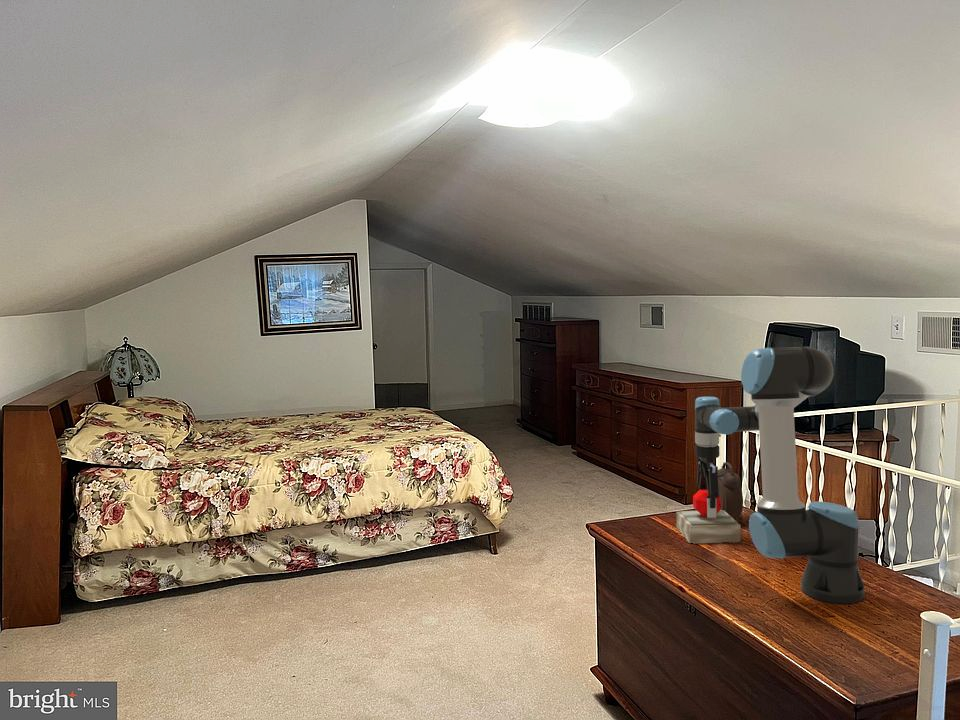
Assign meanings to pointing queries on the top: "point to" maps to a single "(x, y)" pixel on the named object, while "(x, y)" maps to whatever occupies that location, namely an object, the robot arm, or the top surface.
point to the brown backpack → (730, 491)
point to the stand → (708, 527)
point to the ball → (704, 502)
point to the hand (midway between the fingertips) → (707, 513)
